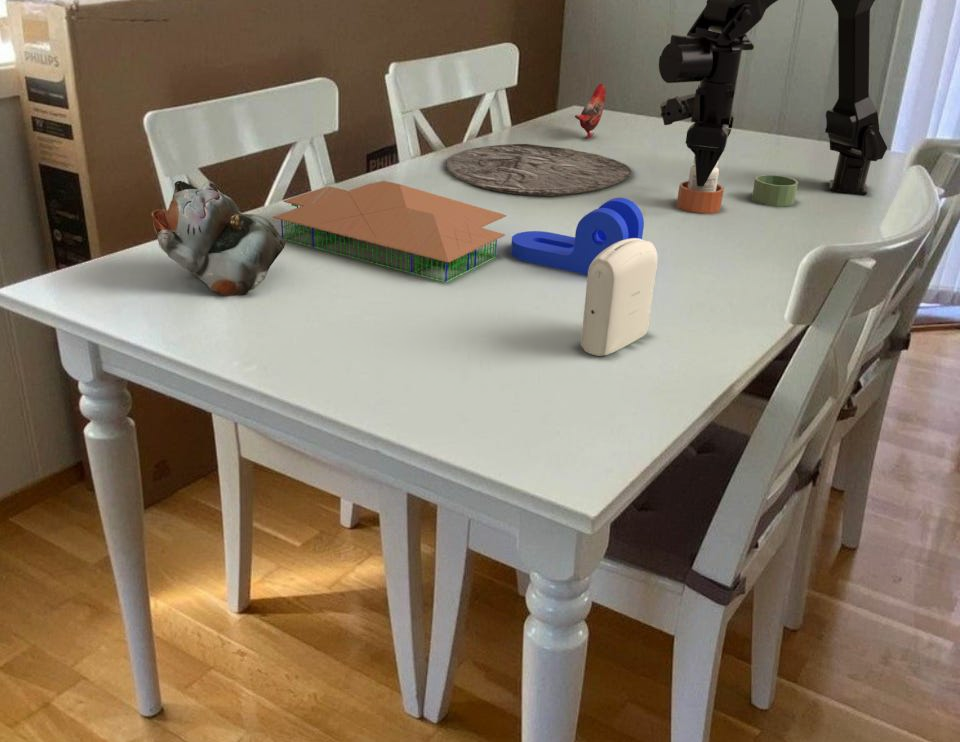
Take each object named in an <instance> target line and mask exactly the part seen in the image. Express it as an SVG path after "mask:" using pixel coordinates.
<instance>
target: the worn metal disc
mask: <svg viewBox="0 0 960 742" xmlns="http://www.w3.org/2000/svg"><path fill="white" fill-rule="evenodd" d="M445 167H446V170H447V171H448V172H449V173H450V174H451V175H453V176H454V177H455V178H456V179H458V180H462V181H464V182H467V183H469V184H470V185H473V186H476V187H479V188H483V189H487V190H490V191H494V192H500V193H505V194H506V193H507V194H514V195H525V196H536V197H537V196H541V197H555V196H566V195H574V194H581V193H587V192H593V191H598V190H601V189H606V188H608V187H612V186H614V185H617V184H618V183H621V182H623V181H626V180H627V179H628V178H629V177H630V176H631V175H632V170H631V168H630V167H629V165H627V164H625V163H623V162H621V161H619V160H616V159H613V158H611V157H607V156H604V155H601V154H597V153H592V152H587V151H581V150H577V149H572V148H565V147H556V146H546V145H539V144H531V143H513V144H512V143H510V144H497V145H489V146H488V145H487V146H480V147H475V148H470V149H466V150H463V151H460V152H458V153H456V154H453V155H452V156H449V158H448V159H447V160H446V164H445Z"/></svg>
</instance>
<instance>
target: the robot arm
mask: <svg viewBox="0 0 960 742" xmlns="http://www.w3.org/2000/svg"><path fill="white" fill-rule="evenodd" d="M778 1H779V0H706V5H705V7H704V8H703V9H702V11H701V13H700V14H699V15H698V17H697V18H696V20H695V21H694V23H693V24H692V25H691V27H690V28H689V30H688V32H687V33H686V35H682V34H671V36H670V41H669V42H670V43H668V44H666V45H665V47H663V50H662V52H661V54H660V55H659V57H658V72H659V75H660V77H661V79H662V81H663V82H665V83H667V84H677V83H679V84H680V83H697V82H699V84H698V85H697V88H696V89H695V92H694V93H691V94H687V95H682V96H678V95H676V96H675V97H672V98H671V97H668V99H667V100H664V101H662V103H661V104H660V116H661V117H662V121H663V126H670V125H673V123H677V122H680V121H683V120H687V119H690V122H691V123H693V124H691V125H690V126H689V127H688V128H687V131H686V137H685V145H686V147H687V148H688V149H689V150H690V151H691V152H692V153H693V155H694V157H695V163H696V180H697V186H700V187H703V186H704V185H705V183H706V181H707V179H708V178H709V176H710V174H711V172H712V170H713V169H714V167H715V165H716V163H717V162H718V163H719V161H718V160H720V158H721V156H722V154H723V153H724V151H725V149H726V147H727V142H728V138H729V137H730V134H731V133H732V129H733V127H734V122H735V116H736V114H735V112H734V111H733V107H734V100H735V95H736V92H737V87H738V86H737V83H738V77H739V72H740V67H741V66H740V65H741V59H742V53H743V51H752V50H754V48H755V45H754V44H753V42H751V40H750V39H749V37H748V35H747V34H748V33H749V32H750V31H751V30H752V29H753V28H754V27H756V25H758V24H759V22H761V20H762V19H763V17H764V15H765V13H766V10H767V9H769V8H770V7H771V6H772V5H773V4H775V3H776V2H778ZM830 1H831V4H832V5H833V7H834V9H835V11H836V12H837V37H838V38H837V39H838V40H837V45H838V47H837V48H838V50H837V51H838V52H837V57H838V58H837V59H838V60H837V61H838V62H837V63H838V65H837V67H838V70H837V71H838V81H837V82H838V96H837V97H838V98H837V99H836V100H837V101H836V102H835V104H834V106H833V107H832V108H831V109H827V110H826V111H825V121H826V125H825V126H826V127H825V129H824V130H825V131H824V133H826V134H827V137H828V139H829V150H830V151H834V152H837V153H838V157H837V161H836V167H835V169H834V170H835V171H834V174H833V179H829V191H832V192H839V193H840V192H841V193H848V194H857V195H868V188H867V179H868V175H869V171H870V168H871V167H870V166H871V163H872V162H878V160H882V159H883V158H884V156H885V154H886V152H887V151H888V145H887V143H886V142H885V140H884V138H883V136H882V134H881V132H880V121H879V113H878V109H877V107H876V106H875V104H874V102H873V100H872V98H871V97H870V90H869V89H870V39H871V37H870V34H871V33H870V31H871V30H870V29H871V8H872V7H873V5H874V3H875V2H876V0H830ZM727 126H728V127H727Z"/></svg>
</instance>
